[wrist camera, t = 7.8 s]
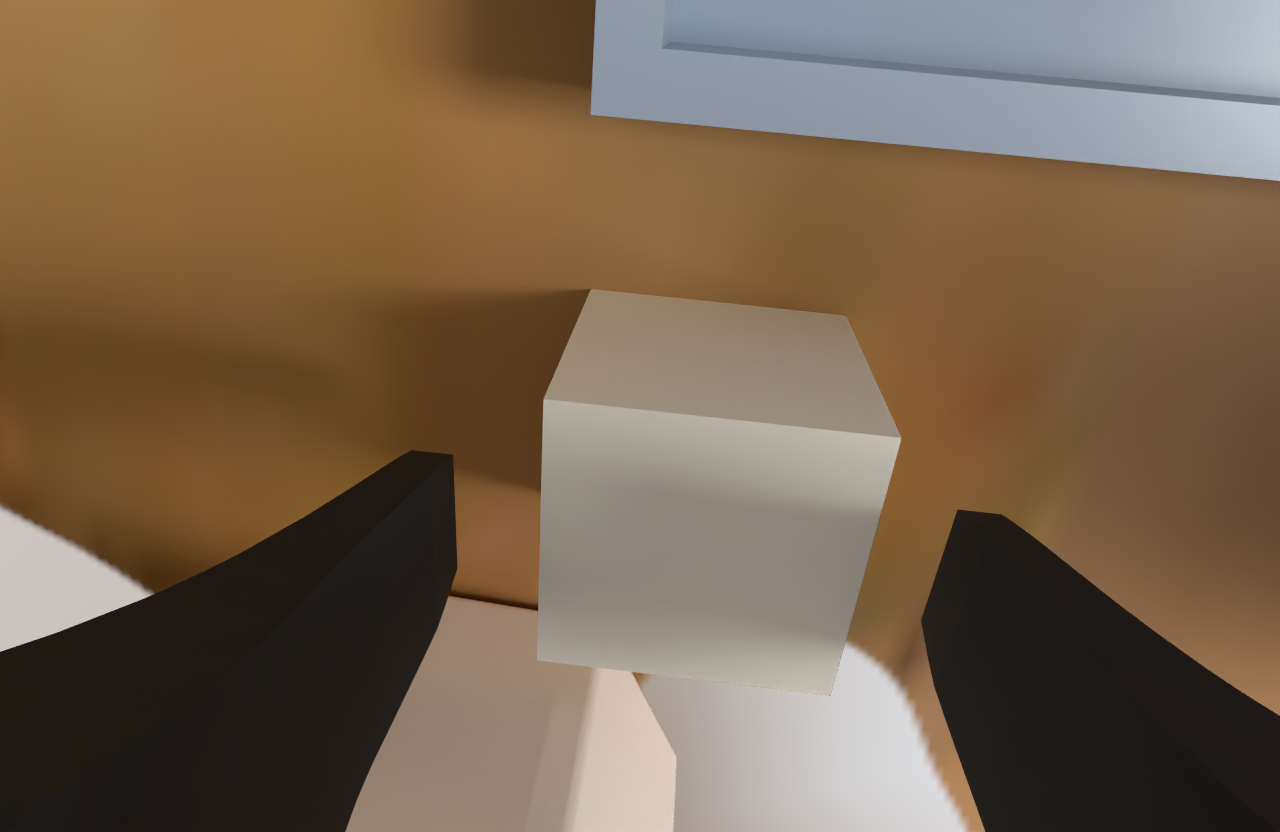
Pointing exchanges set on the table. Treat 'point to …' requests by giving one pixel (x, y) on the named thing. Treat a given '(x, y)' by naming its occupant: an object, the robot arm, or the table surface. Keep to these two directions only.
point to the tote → (962, 75)
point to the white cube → (709, 491)
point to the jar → (516, 740)
